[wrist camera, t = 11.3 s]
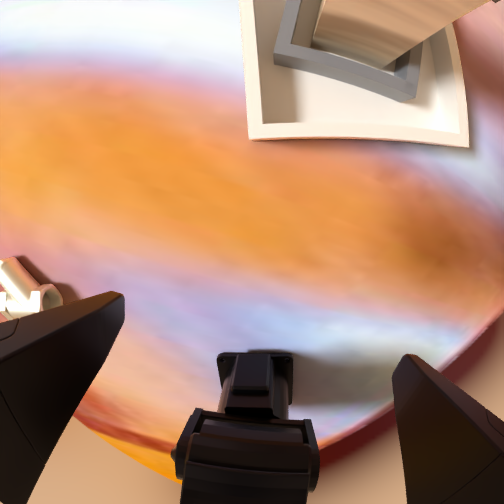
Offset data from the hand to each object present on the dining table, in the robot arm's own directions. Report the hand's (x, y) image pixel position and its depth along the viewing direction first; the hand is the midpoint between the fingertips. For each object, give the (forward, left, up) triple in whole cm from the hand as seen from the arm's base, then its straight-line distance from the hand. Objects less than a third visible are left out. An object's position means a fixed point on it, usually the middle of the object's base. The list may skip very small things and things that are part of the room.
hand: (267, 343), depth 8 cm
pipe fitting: (-4, +25, -14) cm, 28 cm away
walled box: (+14, -6, -13) cm, 20 cm away
